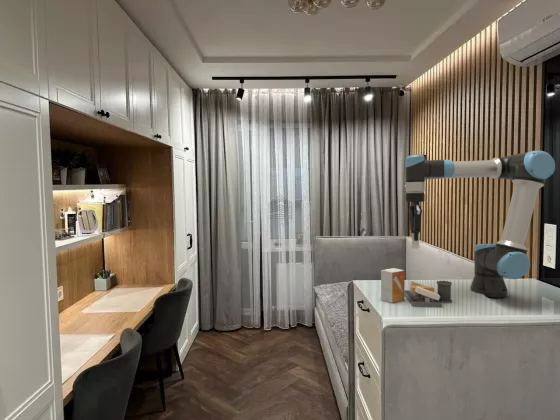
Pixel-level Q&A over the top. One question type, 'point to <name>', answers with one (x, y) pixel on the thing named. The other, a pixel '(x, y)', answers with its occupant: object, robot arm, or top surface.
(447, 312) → the top surface
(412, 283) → the paddle far
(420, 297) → the plate
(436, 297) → the beige rectangular tile
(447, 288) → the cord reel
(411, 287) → the paddle mid
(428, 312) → the top surface
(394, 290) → the small box
